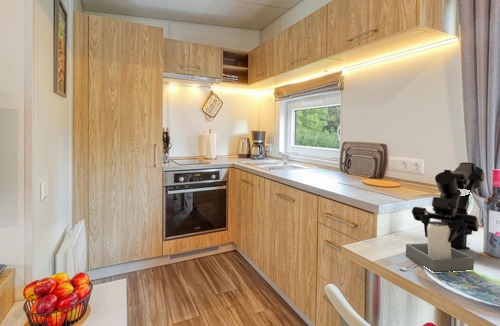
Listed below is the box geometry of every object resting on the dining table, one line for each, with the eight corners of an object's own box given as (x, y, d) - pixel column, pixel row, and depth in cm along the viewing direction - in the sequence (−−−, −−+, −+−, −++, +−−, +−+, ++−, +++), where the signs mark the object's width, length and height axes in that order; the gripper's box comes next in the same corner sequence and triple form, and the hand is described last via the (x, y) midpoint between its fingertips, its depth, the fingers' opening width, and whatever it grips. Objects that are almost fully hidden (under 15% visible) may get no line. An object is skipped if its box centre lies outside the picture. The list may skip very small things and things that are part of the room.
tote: (440, 254, 102) (441, 242, 101) (473, 271, 88) (474, 258, 88) (405, 255, 101) (406, 243, 100) (433, 273, 87) (433, 259, 87)
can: (456, 259, 92) (454, 224, 92) (442, 263, 90) (440, 226, 90) (437, 253, 98) (435, 220, 98) (423, 256, 96) (422, 222, 96)
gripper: (414, 184, 102) (401, 220, 96) (478, 191, 88) (468, 233, 82) (421, 202, 108) (409, 236, 102) (482, 211, 94) (473, 251, 88)
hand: (437, 239), depth 93 cm, fingers closed on can, 6 cm apart
